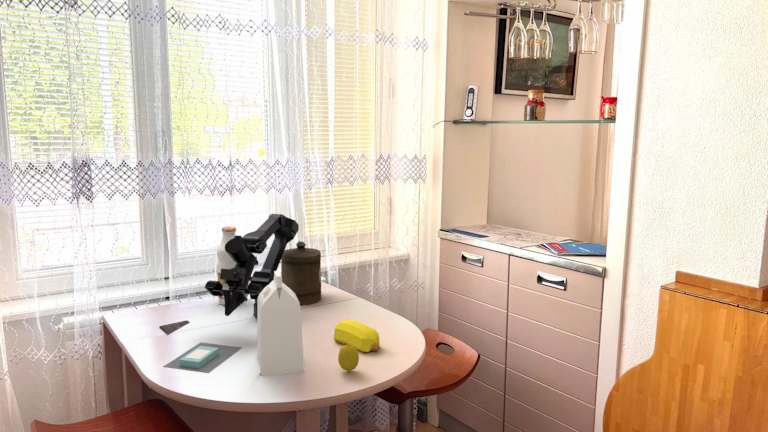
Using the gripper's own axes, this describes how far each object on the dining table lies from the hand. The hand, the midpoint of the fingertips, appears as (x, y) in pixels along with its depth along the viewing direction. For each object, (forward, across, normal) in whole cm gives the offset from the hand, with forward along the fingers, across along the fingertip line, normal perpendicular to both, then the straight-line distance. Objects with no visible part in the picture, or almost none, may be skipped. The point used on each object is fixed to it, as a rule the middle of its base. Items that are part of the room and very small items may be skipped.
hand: (226, 315), depth 175 cm
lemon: (+13, +42, +1) cm, 44 cm away
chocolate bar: (+4, -18, +8) cm, 20 cm away
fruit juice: (-18, -20, +31) cm, 41 cm away
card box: (+12, 0, -2) cm, 12 cm away
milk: (+13, +22, 0) cm, 26 cm away
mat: (+15, 0, -3) cm, 15 cm away
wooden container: (-26, +3, +39) cm, 47 cm away
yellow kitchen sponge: (0, +38, +14) cm, 40 cm away
